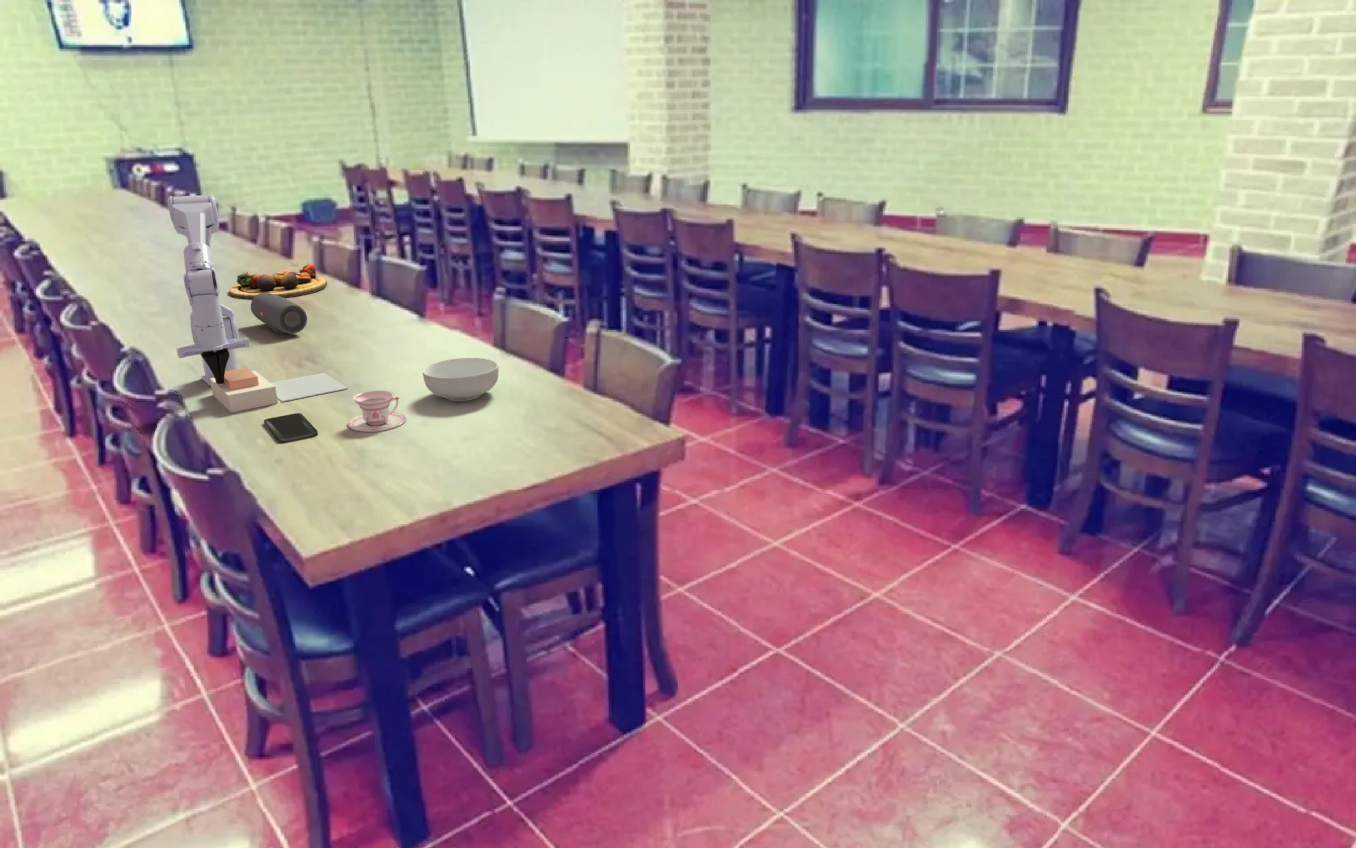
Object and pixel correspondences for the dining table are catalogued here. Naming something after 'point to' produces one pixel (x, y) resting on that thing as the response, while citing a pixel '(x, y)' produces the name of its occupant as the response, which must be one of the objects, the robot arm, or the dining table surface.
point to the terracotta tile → (240, 378)
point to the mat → (306, 387)
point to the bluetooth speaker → (279, 313)
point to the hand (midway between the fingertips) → (220, 382)
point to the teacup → (376, 412)
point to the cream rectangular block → (245, 395)
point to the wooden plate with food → (279, 283)
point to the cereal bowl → (461, 378)
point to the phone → (290, 427)
